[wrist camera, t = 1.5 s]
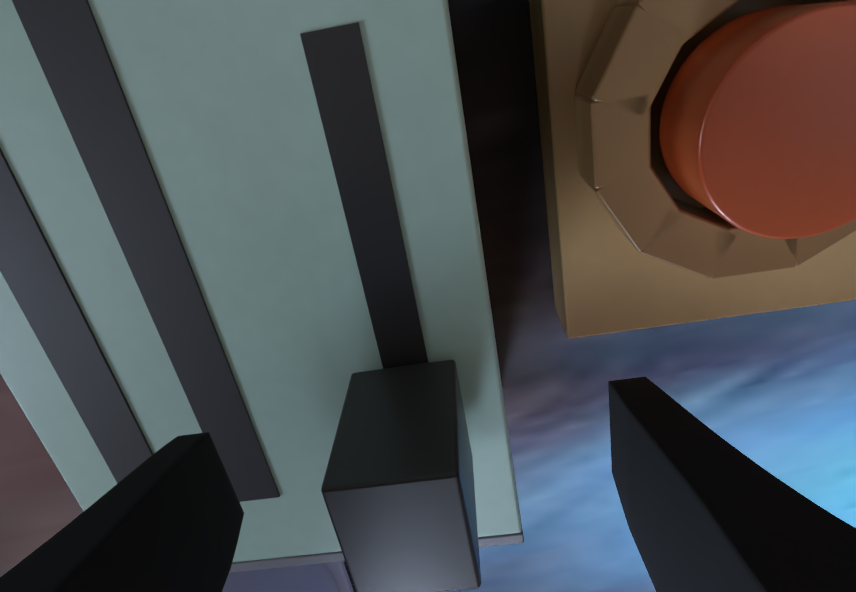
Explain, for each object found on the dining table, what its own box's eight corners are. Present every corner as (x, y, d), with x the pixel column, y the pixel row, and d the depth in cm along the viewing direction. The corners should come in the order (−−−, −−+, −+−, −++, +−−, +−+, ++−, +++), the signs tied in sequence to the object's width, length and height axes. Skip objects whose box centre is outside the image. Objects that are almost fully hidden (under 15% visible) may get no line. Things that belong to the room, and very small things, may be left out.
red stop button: (844, 193, 12) (917, 222, 10) (657, 221, 12) (694, 255, 11) (876, -14, 10) (970, -23, 9) (658, 27, 11) (702, 26, 9)
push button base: (830, 269, 16) (924, 327, 13) (554, 308, 17) (580, 372, 14) (902, -213, 11) (1077, -304, 8) (517, -128, 12) (542, -182, 9)
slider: (472, 456, 11) (481, 589, 9) (377, 467, 12) (357, 600, 9) (454, 357, 10) (459, 474, 8) (350, 371, 10) (319, 490, 8)
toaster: (500, 391, 18) (524, 545, 13) (214, 428, 19) (123, 585, 14) (405, -273, 11) (369, -556, 6) (-38, -162, 12) (-427, -318, 7)
